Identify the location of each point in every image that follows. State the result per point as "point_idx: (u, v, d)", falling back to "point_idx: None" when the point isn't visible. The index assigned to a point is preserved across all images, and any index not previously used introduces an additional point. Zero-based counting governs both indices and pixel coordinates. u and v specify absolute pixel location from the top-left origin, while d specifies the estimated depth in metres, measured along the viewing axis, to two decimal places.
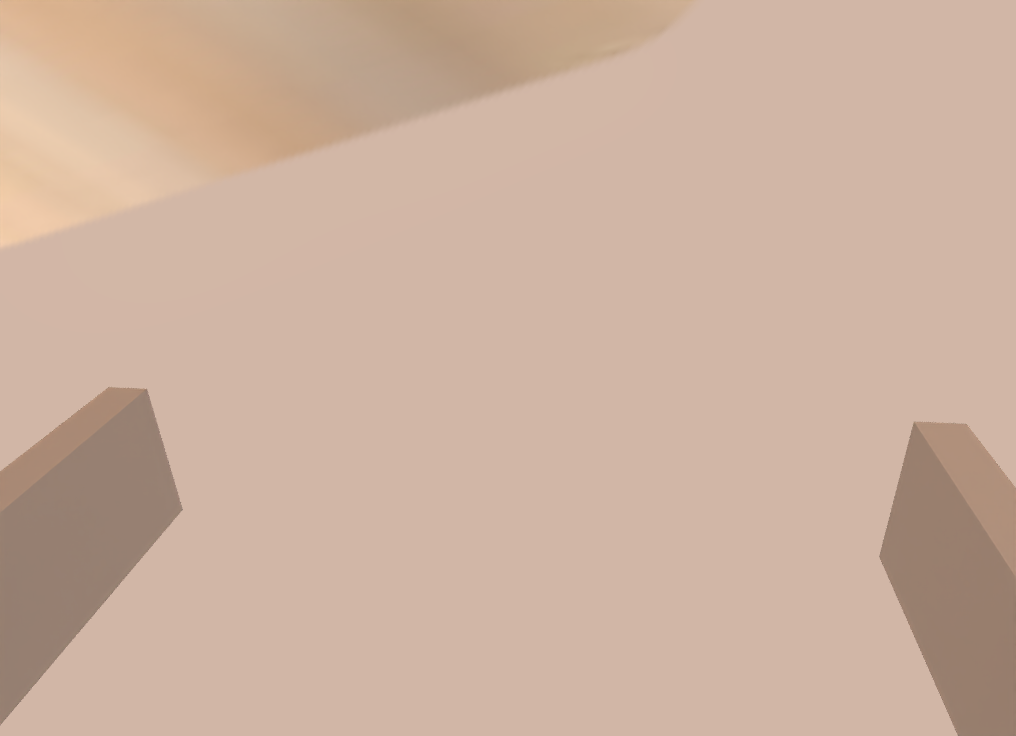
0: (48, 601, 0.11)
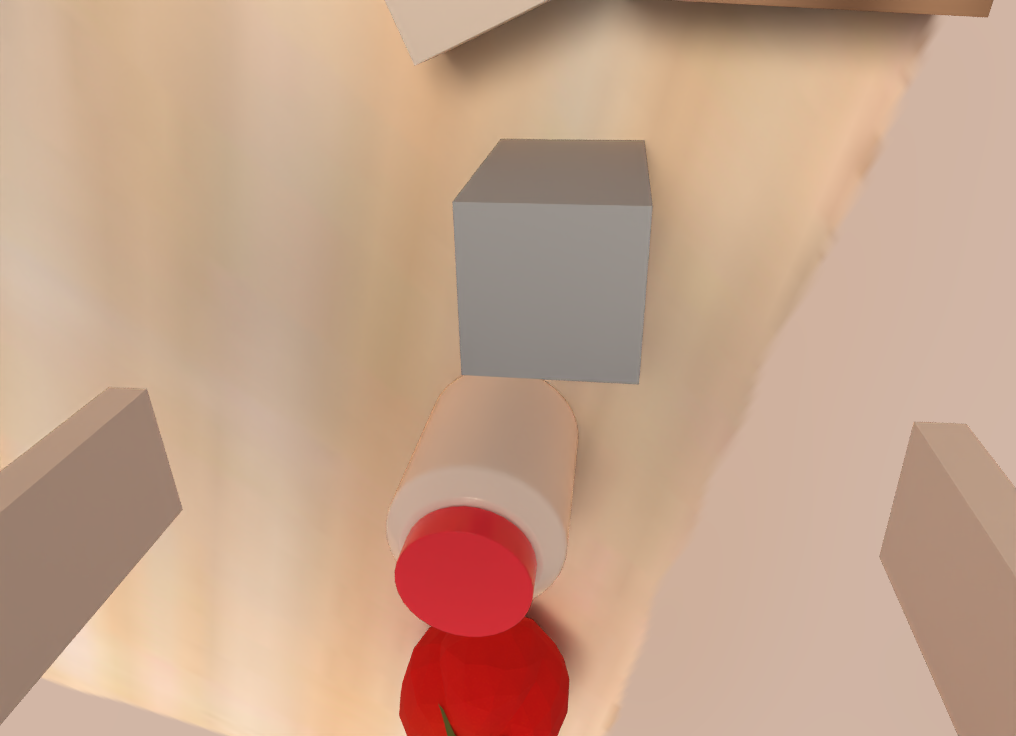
0: (47, 601, 0.11)
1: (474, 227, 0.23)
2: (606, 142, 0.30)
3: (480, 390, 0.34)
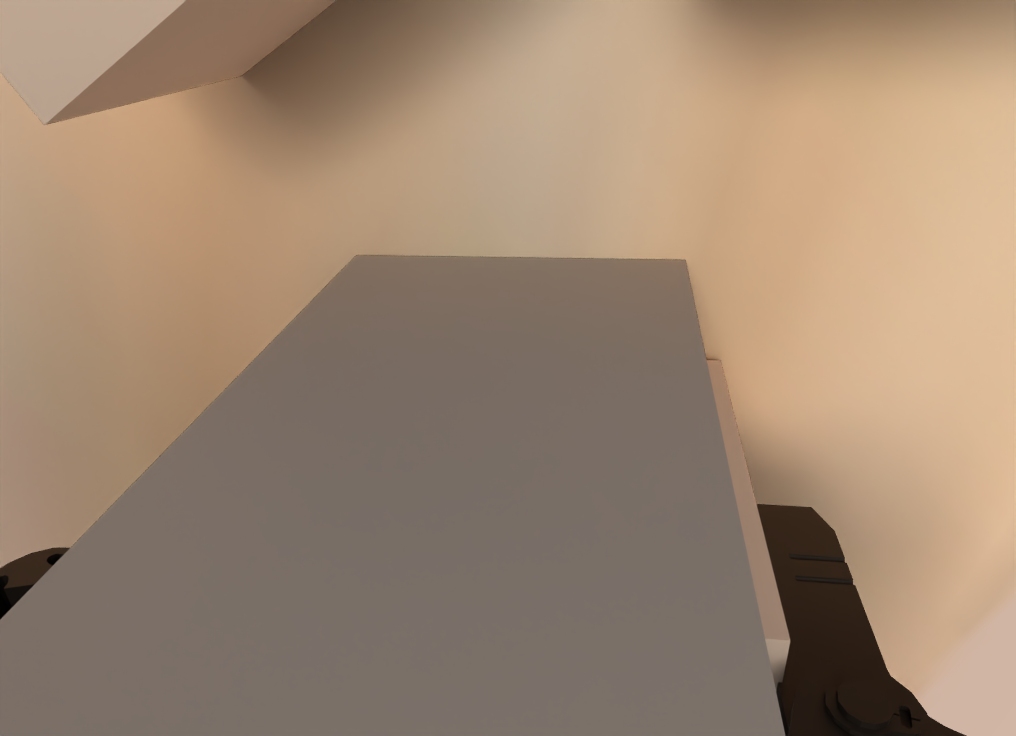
0: None
1: None
2: (595, 268, 0.13)
3: None
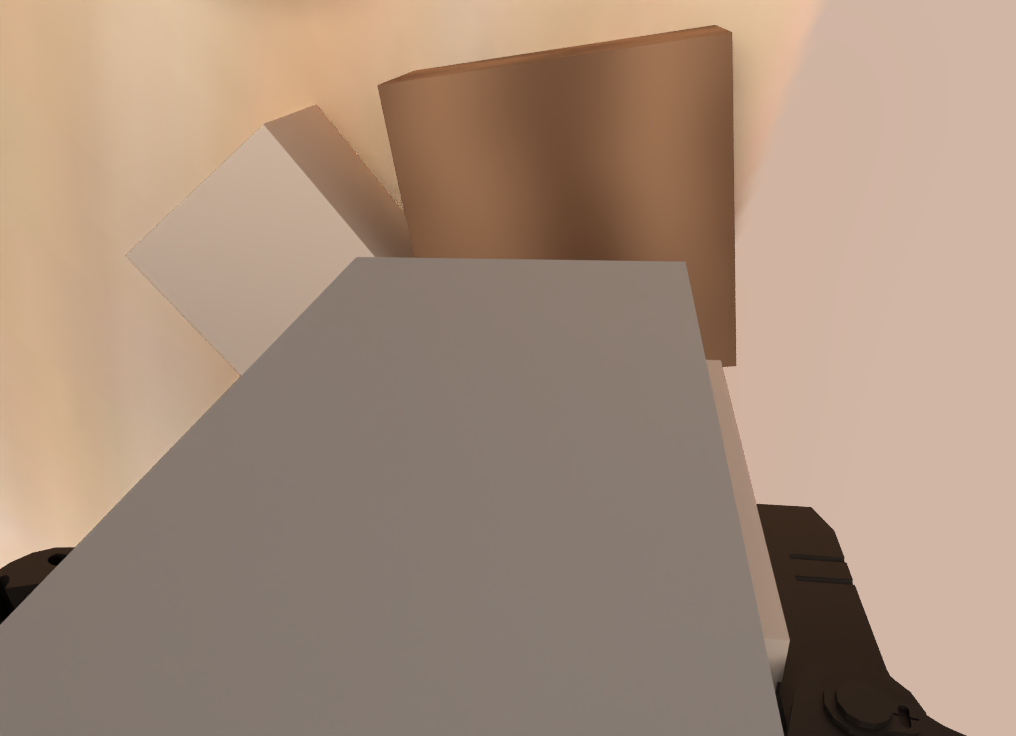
0: None
1: None
2: (595, 270, 0.13)
3: None
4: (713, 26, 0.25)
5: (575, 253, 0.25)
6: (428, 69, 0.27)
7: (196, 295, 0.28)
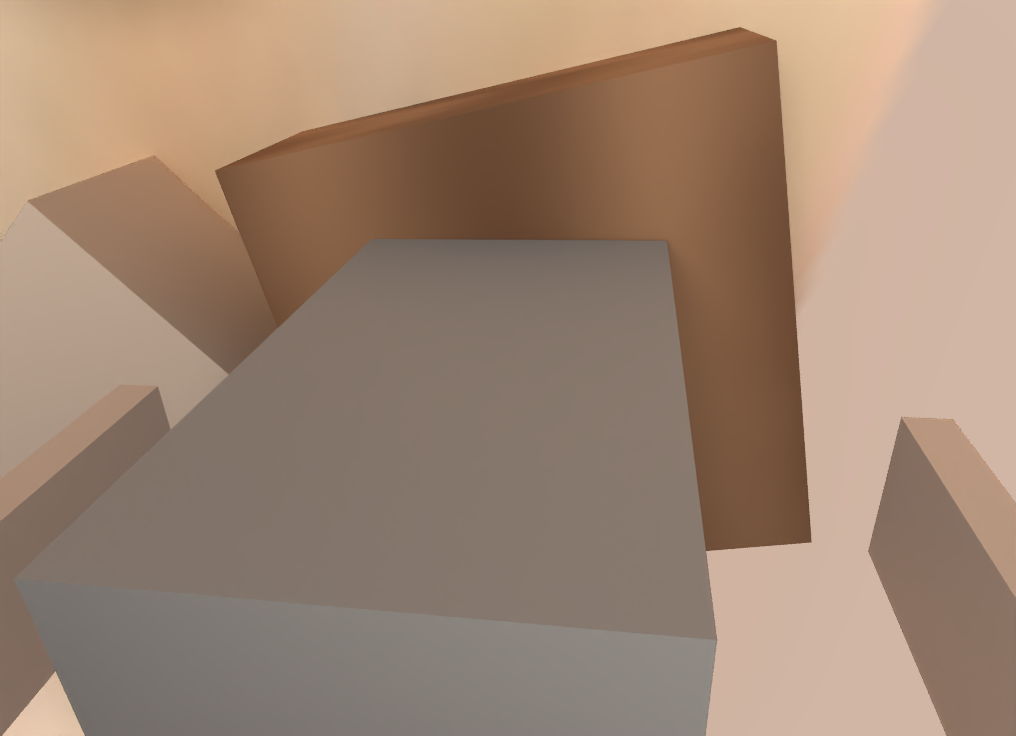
0: None
1: (107, 648, 0.07)
2: (585, 248, 0.14)
3: None
4: (737, 29, 0.16)
5: None
6: (319, 128, 0.19)
7: (3, 451, 0.19)
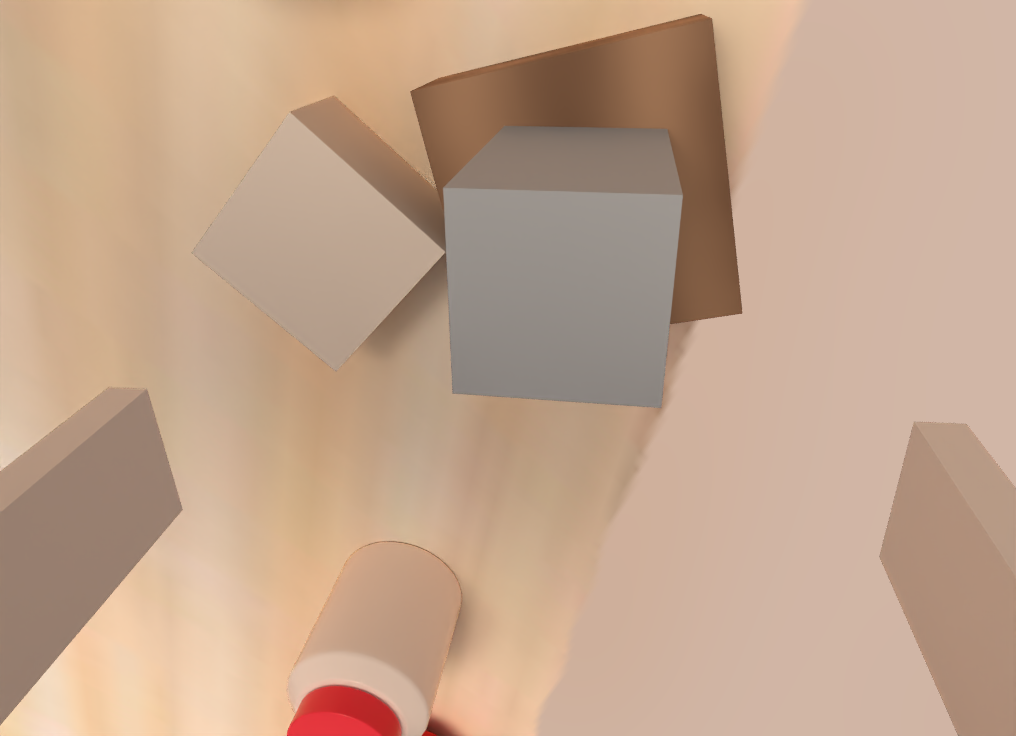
0: (47, 601, 0.11)
1: (469, 218, 0.19)
2: (624, 130, 0.27)
3: (372, 567, 0.42)
4: (698, 15, 0.29)
5: None
6: (451, 75, 0.31)
7: (255, 277, 0.32)
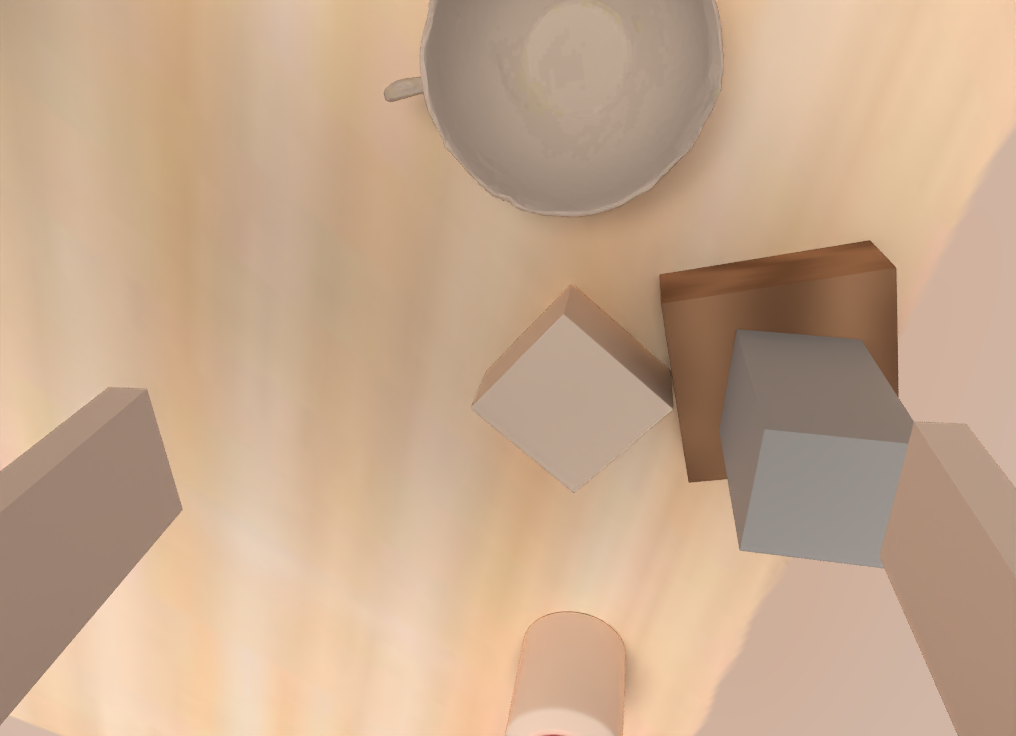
0: (47, 601, 0.11)
1: (778, 448, 0.29)
2: (830, 341, 0.36)
3: (561, 634, 0.52)
4: (870, 243, 0.38)
5: None
6: (672, 275, 0.41)
7: (519, 425, 0.42)
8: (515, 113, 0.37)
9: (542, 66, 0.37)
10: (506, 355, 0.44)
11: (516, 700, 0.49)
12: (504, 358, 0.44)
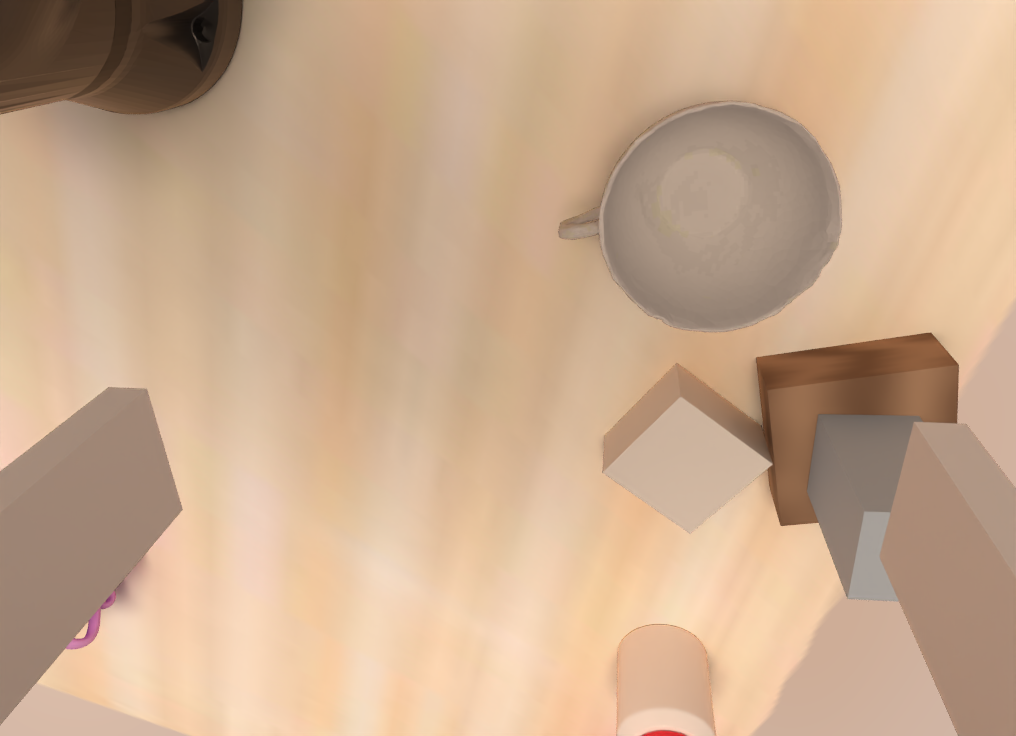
0: (48, 601, 0.11)
1: (875, 524, 0.38)
2: (895, 419, 0.46)
3: (657, 644, 0.61)
4: (932, 336, 0.48)
5: None
6: (767, 358, 0.50)
7: (643, 484, 0.51)
8: (651, 236, 0.46)
9: (673, 199, 0.46)
10: (624, 423, 0.53)
11: (625, 701, 0.59)
12: (623, 426, 0.53)
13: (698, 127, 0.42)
